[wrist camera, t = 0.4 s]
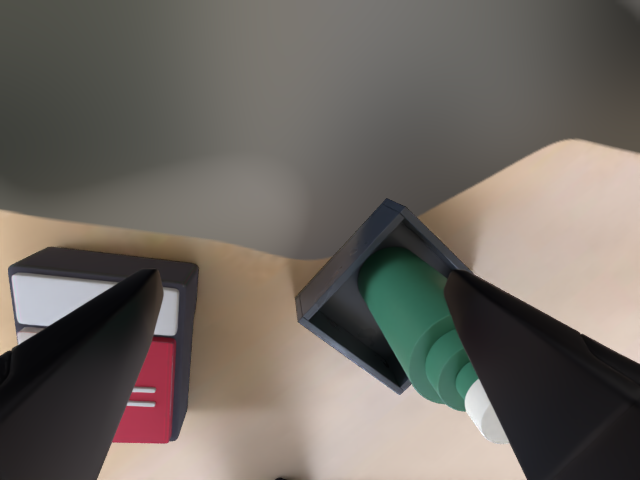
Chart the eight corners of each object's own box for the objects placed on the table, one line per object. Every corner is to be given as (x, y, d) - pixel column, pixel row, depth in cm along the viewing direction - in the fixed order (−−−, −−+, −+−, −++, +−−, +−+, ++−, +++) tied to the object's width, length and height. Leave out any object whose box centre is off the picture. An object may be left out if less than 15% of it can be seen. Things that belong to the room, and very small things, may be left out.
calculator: (21, 448, 23) (-6, 269, 19) (59, 402, 27) (45, 244, 23) (174, 451, 25) (183, 288, 21) (189, 407, 29) (199, 263, 25)
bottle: (390, 321, 28) (500, 490, 14) (343, 283, 27) (417, 433, 13) (436, 274, 28) (601, 403, 14) (391, 232, 26) (526, 330, 12)
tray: (384, 364, 30) (399, 395, 26) (294, 297, 27) (297, 322, 23) (470, 279, 29) (499, 299, 25) (386, 198, 25) (405, 206, 22)
